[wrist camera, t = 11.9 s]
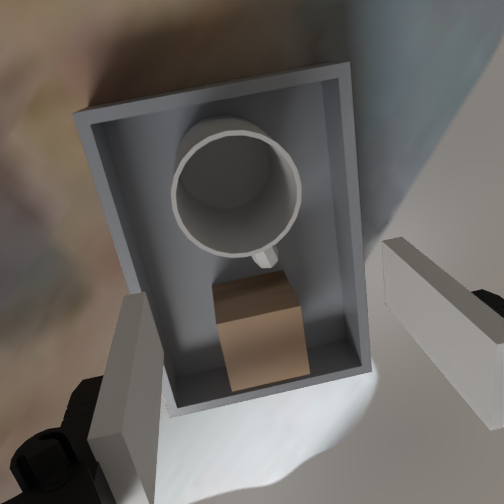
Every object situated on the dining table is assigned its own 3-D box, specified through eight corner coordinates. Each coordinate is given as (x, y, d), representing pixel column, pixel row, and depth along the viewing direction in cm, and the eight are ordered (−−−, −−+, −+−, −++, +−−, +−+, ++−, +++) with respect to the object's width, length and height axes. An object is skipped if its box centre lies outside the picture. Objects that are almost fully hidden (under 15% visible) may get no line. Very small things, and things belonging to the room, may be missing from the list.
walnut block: (211, 285, 36) (216, 324, 31) (283, 269, 36) (300, 305, 31) (225, 345, 38) (231, 391, 33) (292, 330, 39) (310, 373, 33)
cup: (249, 95, 31) (272, 105, 23) (300, 218, 35) (335, 264, 27) (156, 140, 31) (145, 166, 23) (217, 256, 35) (227, 314, 27)
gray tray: (87, 106, 30) (72, 113, 26) (328, 62, 31) (349, 61, 27) (171, 381, 40) (169, 418, 36) (353, 341, 41) (371, 371, 37)
